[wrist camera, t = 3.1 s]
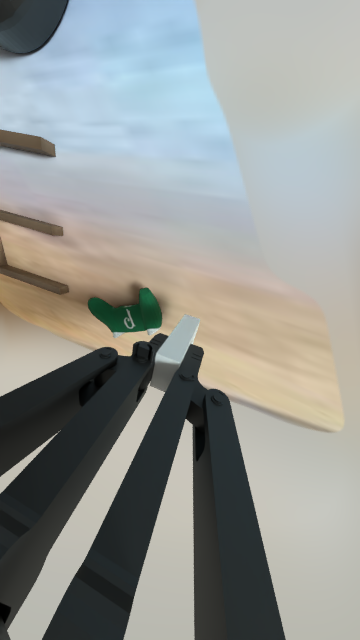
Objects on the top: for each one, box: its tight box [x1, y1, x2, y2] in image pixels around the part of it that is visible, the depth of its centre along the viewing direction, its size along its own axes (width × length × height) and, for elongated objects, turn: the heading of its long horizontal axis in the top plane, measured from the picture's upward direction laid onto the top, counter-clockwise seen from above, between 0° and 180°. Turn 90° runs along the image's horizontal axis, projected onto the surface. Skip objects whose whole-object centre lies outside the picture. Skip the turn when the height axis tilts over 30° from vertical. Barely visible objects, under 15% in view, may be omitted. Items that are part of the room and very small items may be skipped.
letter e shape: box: [0, 130, 69, 295], centre depth 22 cm, size 17×14×2 cm
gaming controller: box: [88, 288, 162, 338], centre depth 22 cm, size 9×4×6 cm
